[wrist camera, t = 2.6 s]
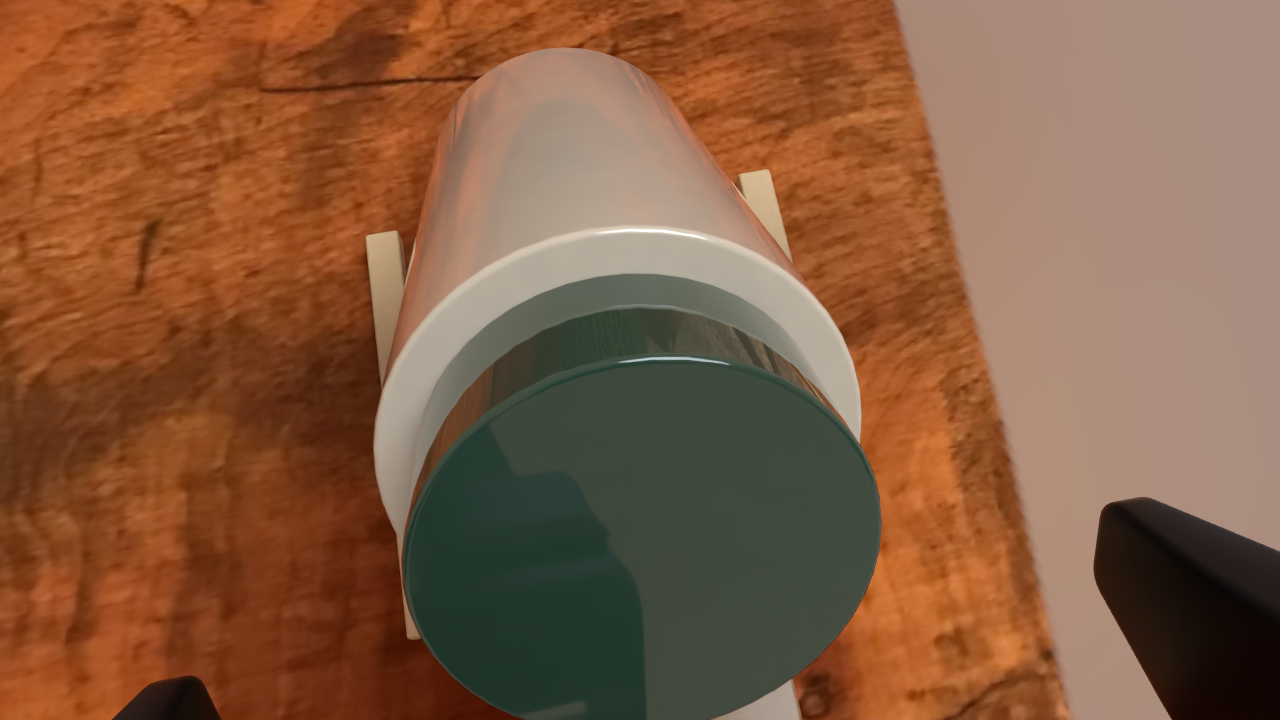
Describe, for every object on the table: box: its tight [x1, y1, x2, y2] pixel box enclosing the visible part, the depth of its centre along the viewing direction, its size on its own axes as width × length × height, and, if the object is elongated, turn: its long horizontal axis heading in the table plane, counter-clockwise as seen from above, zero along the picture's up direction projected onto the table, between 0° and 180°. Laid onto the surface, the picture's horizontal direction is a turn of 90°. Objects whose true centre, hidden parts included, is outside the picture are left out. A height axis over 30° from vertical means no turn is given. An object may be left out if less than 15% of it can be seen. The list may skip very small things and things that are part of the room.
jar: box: [373, 48, 882, 720], centre depth 15 cm, size 13×6×13 cm, turn 10°
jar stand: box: [365, 169, 802, 720], centre depth 18 cm, size 13×10×6 cm
